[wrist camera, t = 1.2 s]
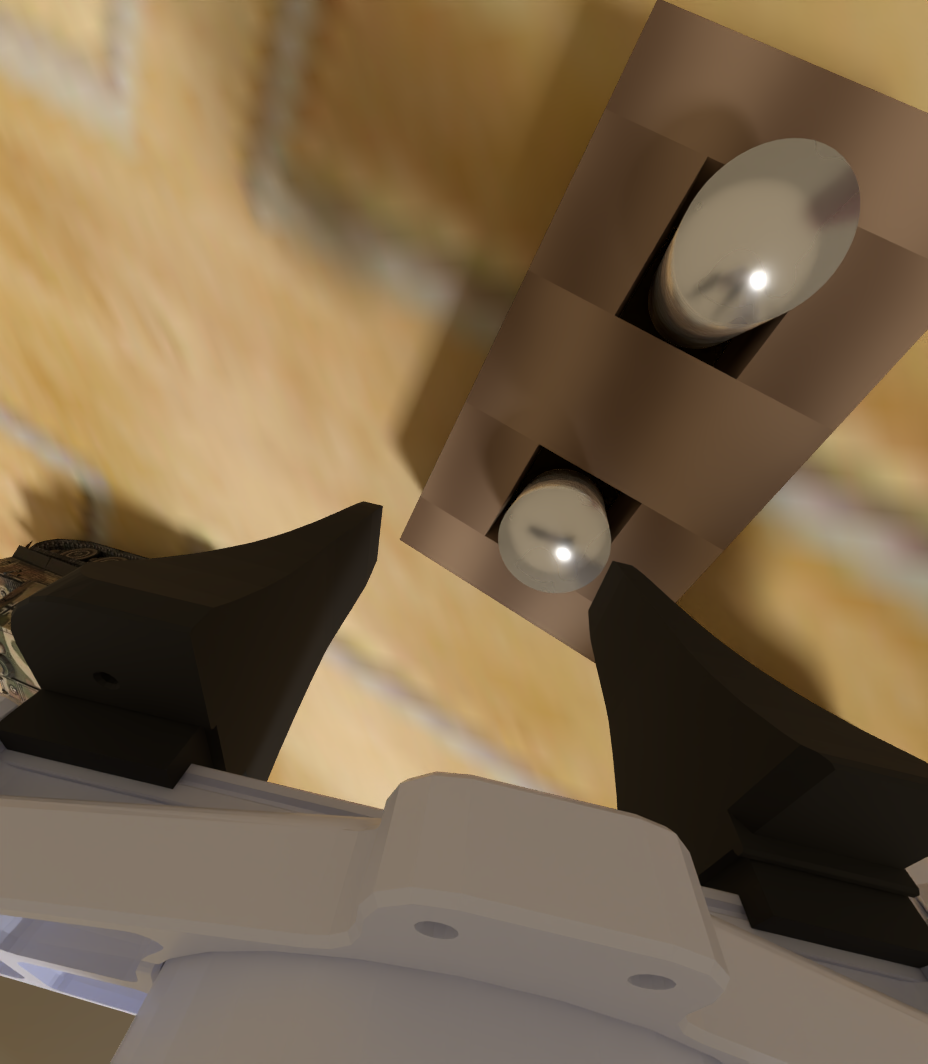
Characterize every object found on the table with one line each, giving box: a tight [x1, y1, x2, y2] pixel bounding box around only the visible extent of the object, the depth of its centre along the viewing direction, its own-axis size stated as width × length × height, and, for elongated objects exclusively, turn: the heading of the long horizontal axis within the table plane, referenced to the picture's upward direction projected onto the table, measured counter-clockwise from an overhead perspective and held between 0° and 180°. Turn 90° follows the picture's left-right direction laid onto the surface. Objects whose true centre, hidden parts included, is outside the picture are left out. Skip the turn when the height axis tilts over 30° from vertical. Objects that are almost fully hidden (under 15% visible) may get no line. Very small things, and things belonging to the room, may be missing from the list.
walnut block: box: [400, 0, 928, 663], centre depth 17 cm, size 12×20×5 cm, turn 153°
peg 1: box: [498, 469, 611, 593], centre depth 16 cm, size 4×4×5 cm
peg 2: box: [648, 138, 860, 349], centre depth 12 cm, size 4×4×5 cm
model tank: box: [0, 539, 149, 704], centre depth 29 cm, size 13×22×15 cm, turn 84°
